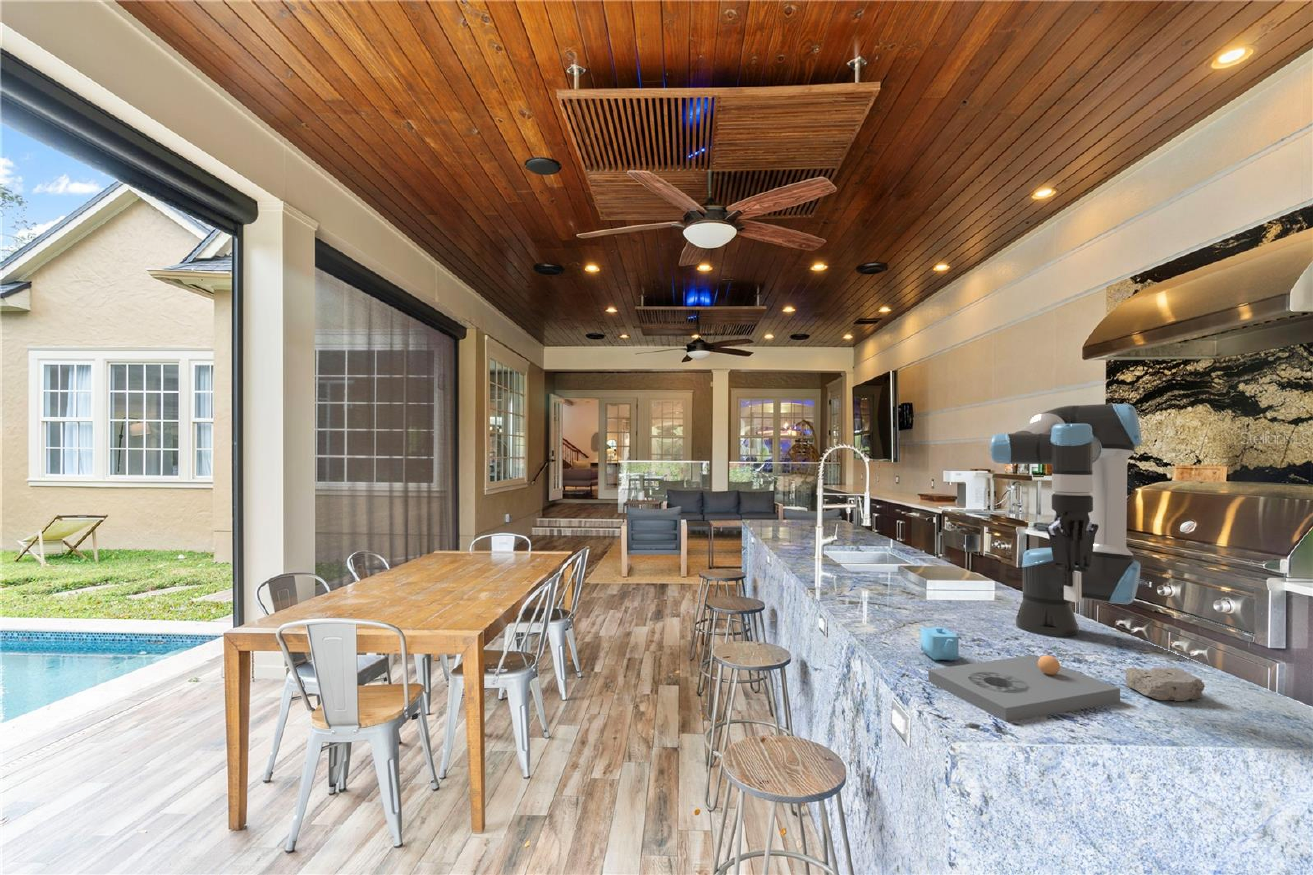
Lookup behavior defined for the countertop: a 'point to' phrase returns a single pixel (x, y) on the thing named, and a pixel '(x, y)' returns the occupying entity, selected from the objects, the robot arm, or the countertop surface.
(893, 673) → the countertop surface
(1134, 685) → the stone
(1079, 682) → the plate
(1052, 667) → the ball
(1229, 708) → the countertop surface
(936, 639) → the light blue teapot
